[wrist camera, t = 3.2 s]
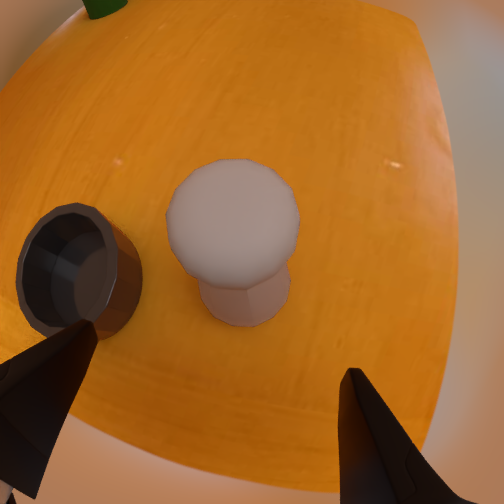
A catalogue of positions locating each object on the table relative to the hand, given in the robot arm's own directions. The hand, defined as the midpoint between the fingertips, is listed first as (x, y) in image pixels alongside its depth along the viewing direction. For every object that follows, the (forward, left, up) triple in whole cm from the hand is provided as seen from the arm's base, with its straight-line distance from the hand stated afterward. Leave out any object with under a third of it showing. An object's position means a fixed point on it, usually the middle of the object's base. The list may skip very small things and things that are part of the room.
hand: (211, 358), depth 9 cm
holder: (+9, +8, -11) cm, 17 cm away
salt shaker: (+3, -3, -11) cm, 12 cm away
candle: (+63, -3, -11) cm, 65 cm away
